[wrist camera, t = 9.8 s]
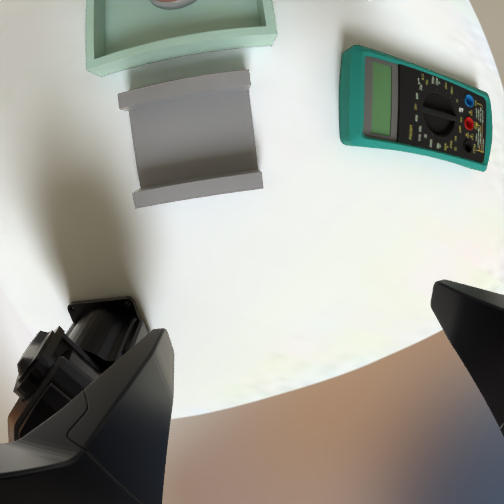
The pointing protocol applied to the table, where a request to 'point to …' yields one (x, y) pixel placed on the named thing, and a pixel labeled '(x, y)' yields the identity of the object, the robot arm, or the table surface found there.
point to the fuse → (172, 4)
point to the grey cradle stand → (193, 137)
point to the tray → (171, 30)
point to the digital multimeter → (412, 109)
